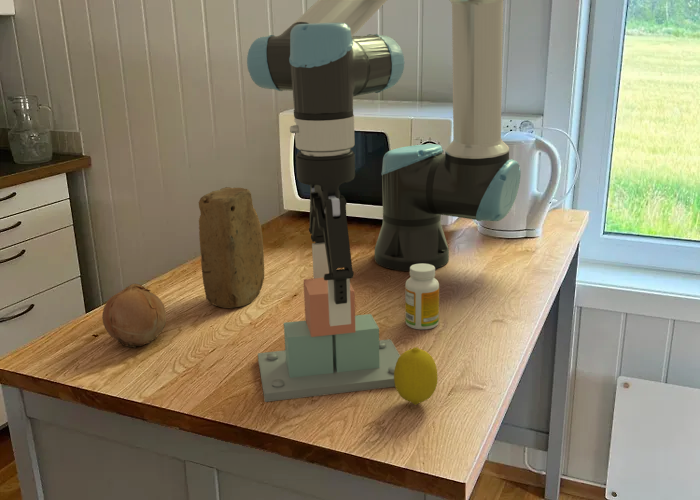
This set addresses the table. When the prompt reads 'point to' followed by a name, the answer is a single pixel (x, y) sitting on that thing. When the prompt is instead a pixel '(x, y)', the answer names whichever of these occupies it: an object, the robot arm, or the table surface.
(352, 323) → the brick block
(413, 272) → the supplement bottle
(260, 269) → the rough sandstone chunk
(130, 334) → the onion
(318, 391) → the build plate
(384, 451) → the table surface
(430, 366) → the lemon
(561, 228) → the table surface
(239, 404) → the table surface
